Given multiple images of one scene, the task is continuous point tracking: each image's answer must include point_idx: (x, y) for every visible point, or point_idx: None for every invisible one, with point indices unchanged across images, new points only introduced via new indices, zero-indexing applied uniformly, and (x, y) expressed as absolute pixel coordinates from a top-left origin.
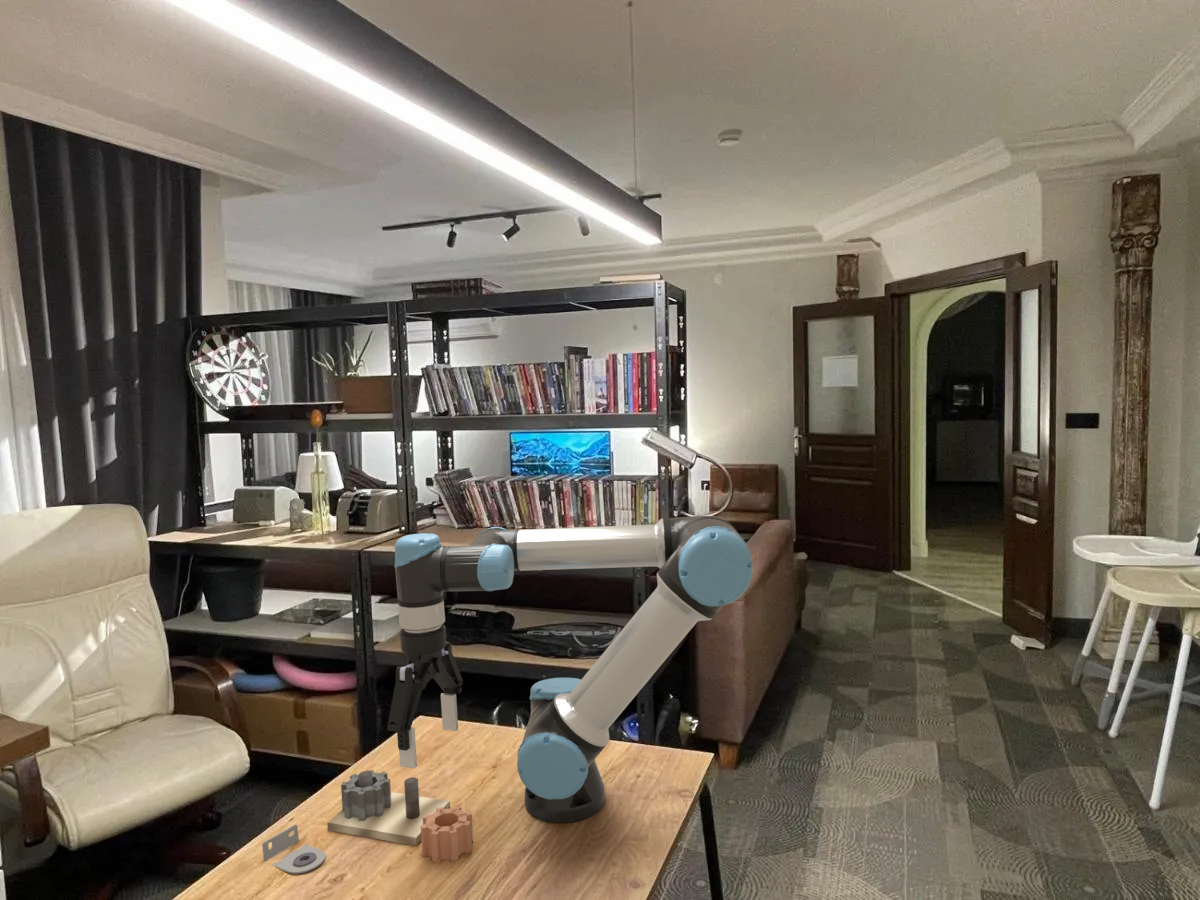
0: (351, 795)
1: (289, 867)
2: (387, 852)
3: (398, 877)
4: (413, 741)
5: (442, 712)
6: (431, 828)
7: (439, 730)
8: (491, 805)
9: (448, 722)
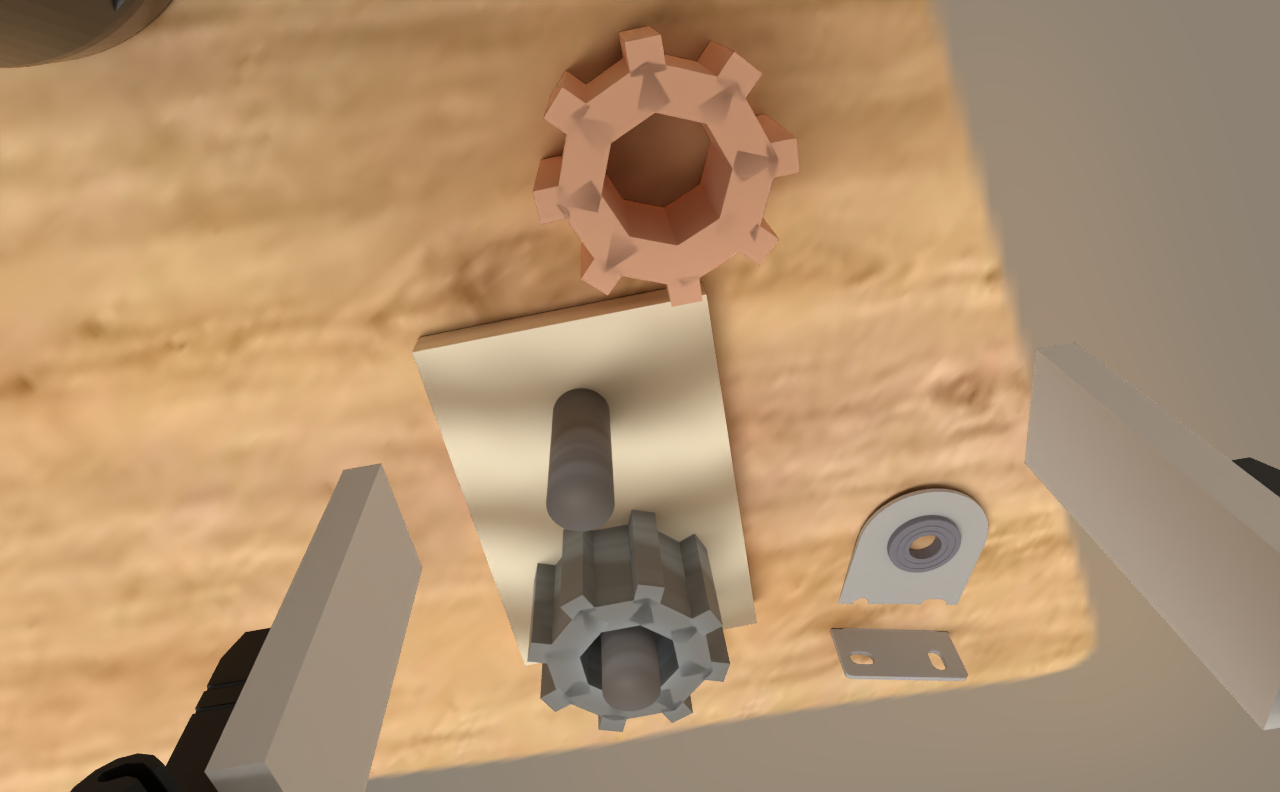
0: (708, 644)
1: (964, 553)
2: (779, 350)
3: (898, 203)
4: (1232, 476)
5: (389, 684)
6: (762, 199)
7: (8, 741)
8: (282, 183)
9: (390, 569)
